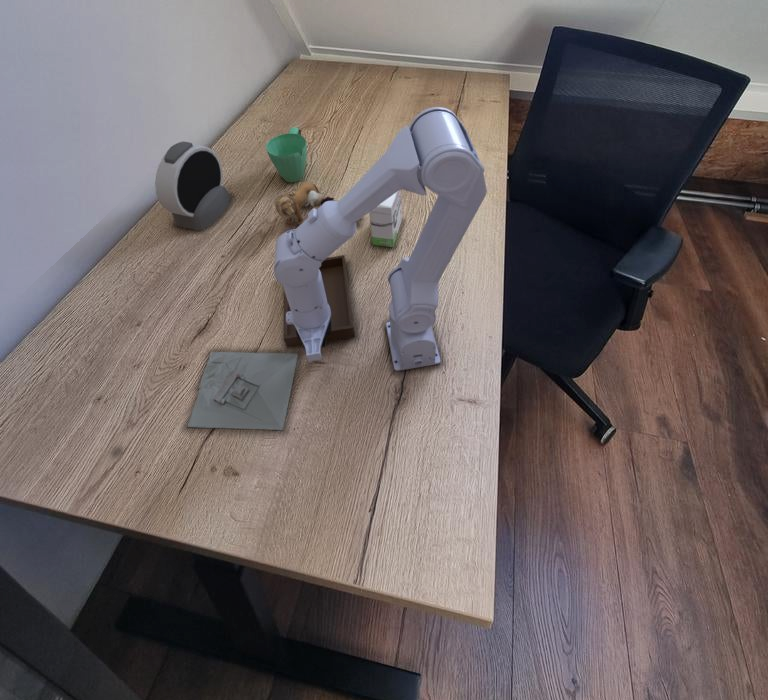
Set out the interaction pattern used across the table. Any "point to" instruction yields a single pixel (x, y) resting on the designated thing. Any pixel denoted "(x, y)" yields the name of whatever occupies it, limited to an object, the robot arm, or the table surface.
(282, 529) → the table surface
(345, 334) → the tray
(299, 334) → the robot arm
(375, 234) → the ink box
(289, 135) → the mug
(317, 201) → the grandmother figurine
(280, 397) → the grey green square plate
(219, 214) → the alarm clock
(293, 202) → the lion figurine
